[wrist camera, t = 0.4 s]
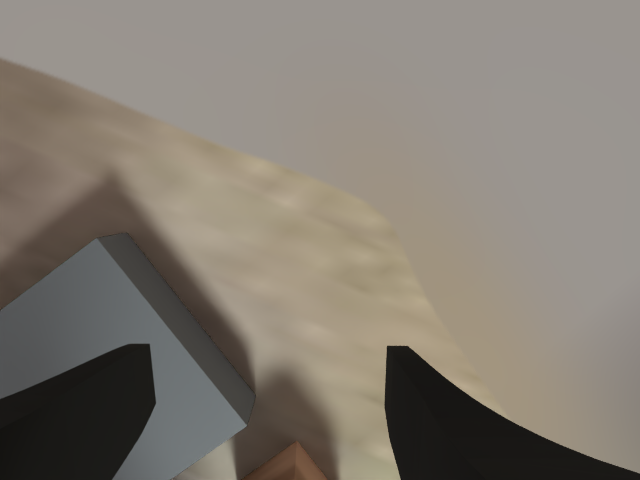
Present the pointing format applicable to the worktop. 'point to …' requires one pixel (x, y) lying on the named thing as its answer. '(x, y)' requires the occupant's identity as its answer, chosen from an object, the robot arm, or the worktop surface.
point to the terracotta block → (288, 466)
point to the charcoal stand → (121, 329)
